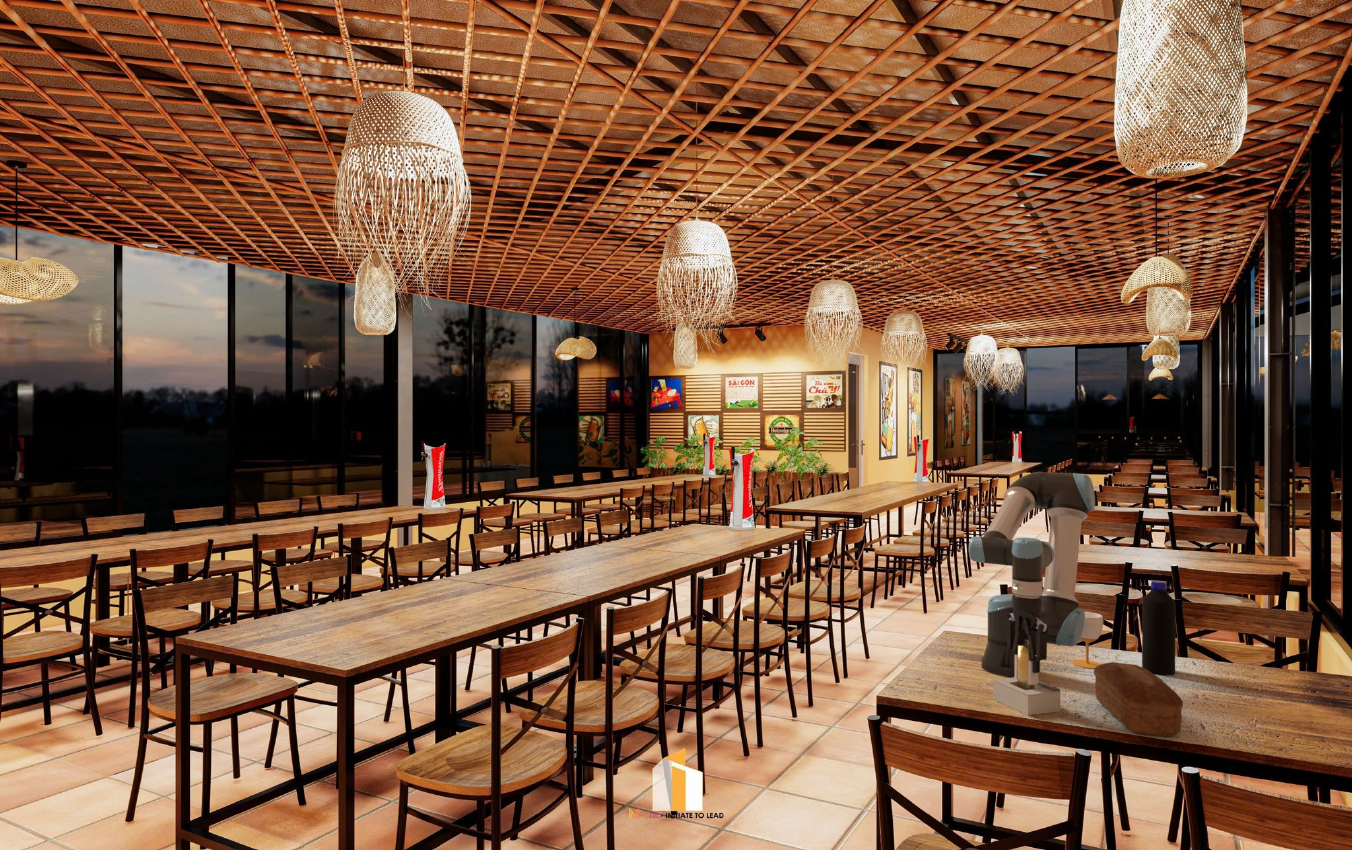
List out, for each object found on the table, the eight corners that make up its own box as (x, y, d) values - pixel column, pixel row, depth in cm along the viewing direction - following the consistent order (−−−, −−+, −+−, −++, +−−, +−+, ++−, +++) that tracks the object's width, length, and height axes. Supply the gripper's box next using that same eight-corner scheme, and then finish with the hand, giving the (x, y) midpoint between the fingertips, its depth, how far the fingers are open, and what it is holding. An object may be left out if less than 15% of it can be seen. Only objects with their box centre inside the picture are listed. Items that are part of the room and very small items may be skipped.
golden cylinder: (1026, 693, 213) (1026, 643, 213) (1038, 699, 209) (1038, 647, 209) (1013, 695, 212) (1013, 644, 212) (1025, 700, 208) (1025, 648, 208)
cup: (1109, 669, 244) (1109, 618, 244) (1080, 668, 244) (1080, 617, 244) (1093, 660, 253) (1094, 611, 253) (1066, 660, 253) (1066, 611, 253)
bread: (1141, 701, 215) (1142, 657, 215) (1190, 742, 187) (1190, 691, 187) (1087, 698, 217) (1088, 654, 217) (1128, 737, 189) (1128, 687, 189)
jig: (1024, 695, 218) (1024, 672, 218) (1060, 711, 206) (1060, 687, 206) (993, 699, 215) (993, 676, 215) (1027, 715, 203) (1028, 691, 203)
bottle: (1180, 676, 237) (1180, 585, 237) (1148, 674, 239) (1149, 583, 239) (1168, 668, 245) (1168, 579, 246) (1137, 666, 247) (1138, 578, 247)
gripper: (993, 589, 218) (992, 672, 218) (1040, 603, 201) (1039, 693, 201) (1014, 588, 220) (1013, 670, 220) (1063, 601, 204) (1062, 690, 203)
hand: (1026, 681), depth 210 cm, fingers closed on golden cylinder, 4 cm apart
